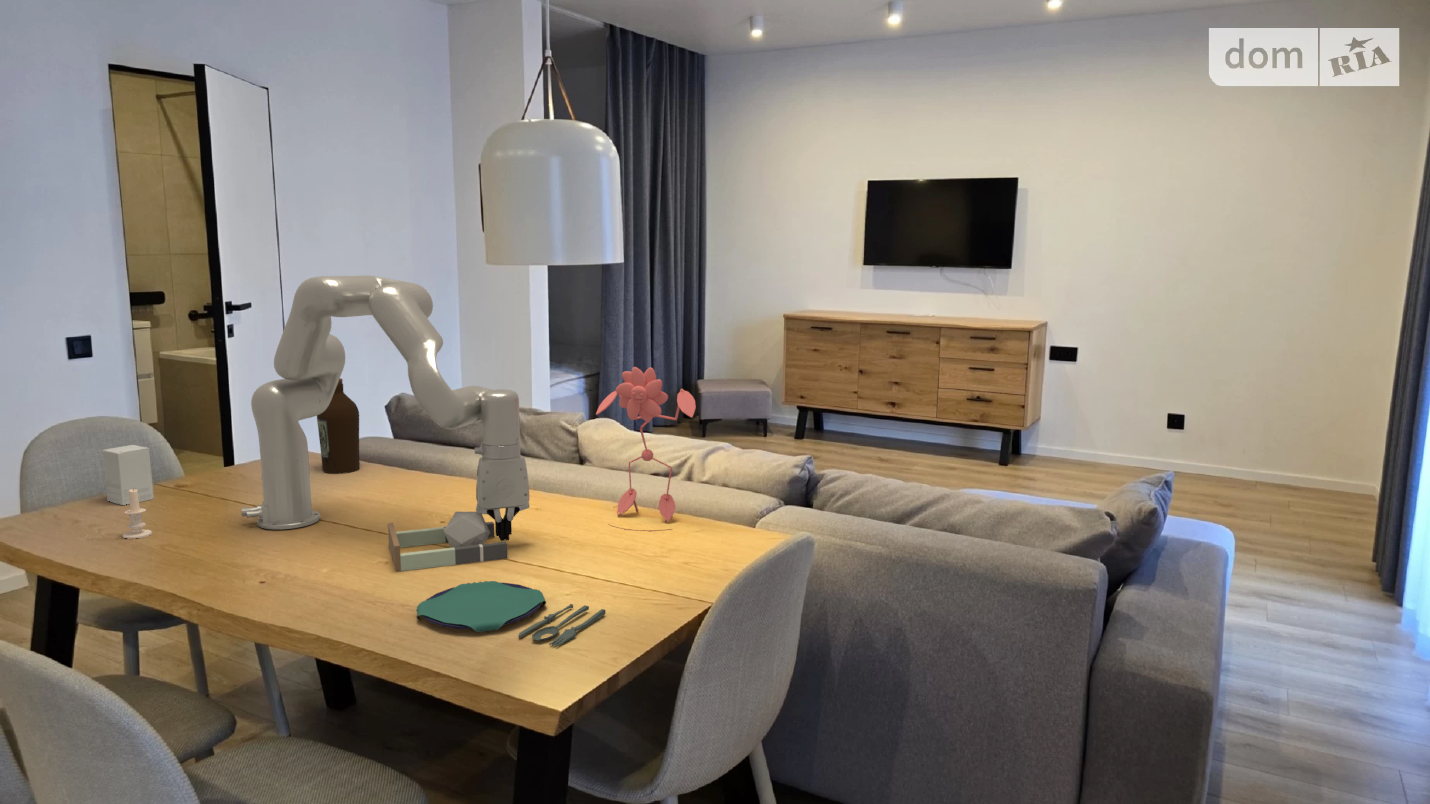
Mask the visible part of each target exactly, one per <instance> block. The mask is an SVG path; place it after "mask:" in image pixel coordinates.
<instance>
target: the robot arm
mask: <svg viewBox="0 0 1430 804" xmlns="http://www.w3.org/2000/svg"><path fill="white" fill-rule="evenodd" d="M433 307H434V304H433V300H432V296H431V294H430V293H429V292H428V290H427V289H426V288H424V286H422V285H420V284H418V283H415V282H410V281H408V282H407V281H403V280H397V279H391V278H386V277H381V276H375V275H335V276H334V275H333V276H332V275H329V276H328V275H326V276H315V277H309V278H308V279H305V280H304V281H303V282H301V283H300V284H299V286H298V287H297V288H296V290H295V293H294V296H293V299H292V304H291V309H290V312H289V315H288V318H287V321H286V323H285V326H284V329H283V331H282V334H281V337H280V340H279V342H278V345H277V348H276V351H275V354H274V358H273V368H274V371H275V372H276V375H278V376H279V377H281V378H282V379H276V380H272V381H271V380H270V381H268V382H266V383H263V384H262V385H260V386H259V387H258V388H257V389H256V390H255V391H254V392H253V393H252V397H251V401H250V403H251V404H250V406H251V412H252V415H253V419H254V421H255V425H256V430H257V435H258V442H259V454H260V467H261V469H260V470H261V482H262V496H263V497H262V498H263V501H262V503H261V504H258V505H257V506H253V507H251V506H247V507H246V506H245V507H241V511H240V512H241V517H246V518H249V519H251V518H256V517H258V518H257V520H256V522H257V523H256V524H257V526H258V527H259V528H261V529H265V530H275V531H276V530H279V531H280V530H290V529H293V530H294V529H298V528H303V527H307V526H310V525H313V524H315V523H317V522H319V520H320V519H321V515H320V512H319V511H317V510H313V507H312V491H311V488H312V487H311V476H310V475H311V474H310V473H311V472H310V459H309V457H310V456H309V446H308V440H307V436H306V434H305V432H304V430H303V428H302V426H301V424H300V423H299V422H300V421H302V420H305V419H310V418H314V417H317V415H319V414H321V413H323V412H324V411H325V410H326V409H327V407H328V406H329V404H330V402H331V399H332V397H333V394H334V392H335V389H336V387H337V384H338V381H339V379H340V378H341V376H342V373H343V371H344V368H345V364H346V352H345V347H344V346H343V343H342V341H340V339H339V338H338V337H337V336H335V335H333V334H330V332H331V331H332V330H331V329H332V324H333V323H332V317H334V318H349V317H350V318H351V317H353V318H354V317H362V316H372V317H373V319H374V320H375V321H376V322H377V324H378V325H379V327H380V328H381V329H382V330H383V331H384V333H385V335H386V336H387V338H389V340H390V341H391V343H392V344H393V345H394V346H395V348H396V349H397V351H398V353H400V355H401V356H402V357H403V359H404V360H405V362H406V363H407V376H408V380H409V385H410V388H411V391H412V393H413V396H414V398H415V399H416V400H417V402H418V404H419V405H420V407H421V408H422V409H423V410H424V412H425V413H426V414H427V416H428V417H429V418H430V420H432V422H434V424H437V426H439V427H441V428H442V429H446V430H456V429H459V428H462V427H465V426H468V425H472V424H473V425H474V424H477V423H480V429H481V443H480V446H476V447H474V454H475V455H480V456H481V457H479V458H478V464H477V470H476V485H475V486H476V489H475V490H476V491H475V492H476V494H475V499H476V506H475V512H477V513H479V514H482V515H488V516H489V517H490V518H492V519H493V520H494V532H495V536H496V537H498V539H499V540H500V542H505V541H510V536H511V535H512V532H513V531H512V528H513V527H512V521H513V520H514V518H515V516H517V514H518V513H519V512H522V511H525V510H527V509H529V508H530V506H531V505H530V485H529V476H528V468H527V462H526V459H525V458H526V457H525V456H524V455H521V434H520V433H521V430H520V429H521V428H520V427H521V426H520V423H521V422H520V397H519V395H518V393H517V392H516V391H515V390H512V389H506V388H505V389H501V388H500V389H491V388H487V387H483V386H479V385H469V386H464V387H459V388H456V389H452V388H451V387H450V386H449V384H448V383H447V382H446V381H445V379H444V378H443V376H442V374H441V373H440V371H439V368H438V364H437V355H438V353H439V351H441V350H442V348H443V345H444V339H443V337H442V335H441V334H440V333H439V331H438V330H437V329H436V328H435V326H434V325H433V323H432V322H431V321H430V320H429V319H428V318H429V317H430V316H431V314H432V313H433ZM500 509H505V512H504V515H503V517H502V514H501V510H500Z"/></svg>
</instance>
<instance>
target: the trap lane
mask: <svg viewBox="0 0 1430 804" xmlns="http://www.w3.org/2000/svg"><path fill="white" fill-rule="evenodd" d="M485 522H486V524H487V527H488V529H489V531H490V534H489V536H488V538H487V539H491V538H495V536H496V535H495V522H494V521H488V522H487V521H485ZM445 528H446V526H437V527H431V528H430V527H429V528H420V529H419V528H418V529H410V530H402V531H401V530H399V531H396V528H395V525H394V522H387V535H388V549H389V553H390V556H391V560H392V563H393V568H394V571H395V573H398V572H406V571H407V572H408V571H414V570H415V571H416V570H422V569H423V570H424V569H430V568H439V567H447V566H455V565H463V564H473V563H480V562H482V563H483V562H490V561H496V560H505V559H507V560H508V558H509V557H508V555H509V552H508V542H507V541H499V542H498V541H497V542H490V543H489V542H488V543H484V544H480V545H471V546H462V547H453V548H451V547H447V548H438V549H428V550H419V551H410V552H403V553H401V549H402V548H411V547H420V546H429V545H437V544H447V543H448V544H449V542H448V540H447V538H446V536H445V534H444V532H443V531H444V529H445Z"/></svg>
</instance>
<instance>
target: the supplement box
mask: <svg viewBox="0 0 1430 804" xmlns="http://www.w3.org/2000/svg"><path fill="white" fill-rule="evenodd" d="M101 452H102V462H103V471H104V472H103V473H104V478H105V487H106V500H107V502H109V501H110V502H109V503H114V504H116V505H121V506H127V505H130V500H129V490H131V489H137V491H138V498H139V503H142V502H146V501H151V500H154V499H155V498H154V497H155V496H154V484H153V475H152V467H151V466H152V465H151V455H150V453H151V452H150V448H149V447H146V446H145V447H144V446H141V445H136V444H129V445H123V446H118V447H112V448H111V447H110V448H107V449H102V451H101ZM126 504H127V505H126Z"/></svg>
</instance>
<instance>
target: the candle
mask: <svg viewBox="0 0 1430 804" xmlns="http://www.w3.org/2000/svg"><path fill="white" fill-rule="evenodd" d="M129 500H130V504H129V509H127V510H125V511H124V514H125V515H128V516H129V522H130V523H128V525H127V529H131V530H130V531H127V532H125V533H122V538H123V539H124V538H140V539H144V538H143V537H145V538H147V537H146V536H148V537H150V536H151V535H153V532H152V530H151V529H143V528H144V527H145V526H146V522H144V521H143V516H142V513H144V512H146V510H147V509H146V508H143V507H142V508H141V507H140V502H139V498H138V491H137V489H131V490H129ZM149 535H150V536H149Z"/></svg>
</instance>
